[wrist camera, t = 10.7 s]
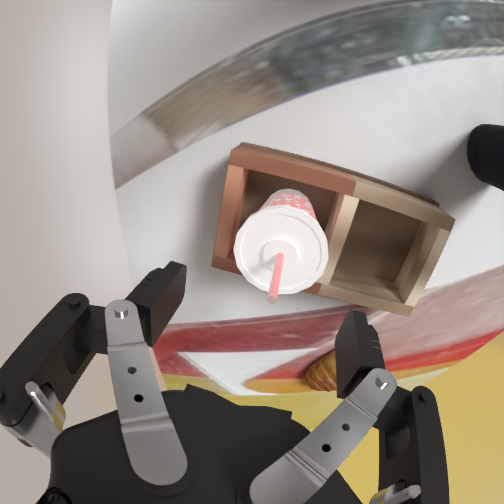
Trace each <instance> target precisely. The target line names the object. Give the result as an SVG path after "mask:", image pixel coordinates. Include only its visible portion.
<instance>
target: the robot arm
mask: <svg viewBox="0 0 504 504" xmlns="http://www.w3.org/2000/svg"><path fill="white" fill-rule="evenodd" d="M186 270H187V267H186V265H184V264H180V263H177V262H174V261H170V262H169V264H168V265H167V266H166V267H165V268H164V269H162V268H157V269H155V270H153V271H151V272H149V273H148V275H147V276H146V277H145V278H144V279H143V280H142V281H141V282H140V284H138V285H137V286H136V287H135V289H134V290H133V291H132V292H131V293H130V294H129V295H128V296H127V297H126V298H125V299H124V300H115V301H113V302H111V303H109V304H108V305H107V306H106V307H101V306H94V305H89V300H88V298H87V297H86V296H85V295H83V294H80V293H72V294H68V295H66V296H65V297H63V298H62V299H61V300H60V301H59V302H58V303H57V304H56V306H55V307H54V308H53V309H52V310H51V311H50V312H49V313H48V314H47V315H46V316H45V317H44V318H43V319H42V320H41V322H40V323H39V324H38V325H37V326H36V327H35V328H34V329H33V330H32V331H31V333H30V334H29V335H28V336H27V337H26V338H25V339H24V341H23V342H22V343H21V344H20V345H19V346H18V347H17V349H16V350H15V351H14V352H13V353H12V355H11V356H10V357H9V358H8V360H7V361H6V362H5V363H4V365H3V366H2V367H1V368H0V424H1V425H2V426H3V427H5V428H6V430H7V431H8V432H10V433H11V434H12V435H13V436H14V437H16V438H17V439H18V440H19V441H20V442H22V443H23V444H24V445H26V446H28V447H34V448H36V449H37V450H39V451H40V452H41V453H43V454H44V455H46V456H47V457H49V458H50V459H51V474H50V480H49V485H48V488H47V490H46V492H45V493H44V494H43V495H42V497H41V498H40V499H39V500H38V501H37V502H36V504H362V502H361V501H360V500H359V498H358V497H357V496H356V494H355V493H354V492H353V491H352V489H351V488H350V486H349V485H348V484H347V482H346V481H345V480H344V478H343V477H342V476H341V474H340V473H339V472H338V470H337V468H338V467H339V466H340V465H341V464H342V462H343V461H344V460H345V459H346V458H347V457H348V456H349V454H350V453H351V452H352V451H353V450H354V449H355V447H356V446H357V445H358V444H359V442H360V441H361V440H362V439H363V437H364V436H365V435H366V434H367V432H368V431H369V430H370V428H371V427H374V428H377V429H379V487H378V492H377V493H376V494H374V495H373V497H372V498H371V500H370V502H369V504H449V486H448V485H449V484H448V472H447V463H446V454H445V447H444V440H443V433H442V427H441V422H440V417H439V412H438V407H437V402H436V398H435V396H434V394H433V392H432V391H431V390H430V389H428V388H427V387H424V386H417V387H415V388H414V389H413V390H412V391H408V390H406V389H403V388H401V387H399V386H397V383H396V380H395V378H394V376H393V375H392V374H391V373H390V372H388V371H387V370H386V369H385V364H384V360H383V355H382V351H381V349H380V348H381V346H380V343H379V338H378V333H377V332H376V330H375V329H374V327H373V326H372V325H369V324H368V322H367V318H366V314H365V313H362V312H358V311H354V310H350V311H349V312H348V314H347V316H346V318H345V320H344V322H343V324H342V326H341V327H340V329H339V331H338V333H337V336H336V340H335V357H336V380H337V398H341V399H345V400H344V401H343V402H342V403H341V404H340V405H339V406H338V407H337V408H336V409H335V410H334V411H333V412H332V413H331V414H330V415H329V416H328V417H327V418H326V419H325V420H324V421H323V422H322V423H321V424H320V425H319V426H317V427H316V428H315V429H314V430H313V431H312V432H310V431H309V430H308V429H306V428H305V427H304V426H303V425H301V424H300V423H298V422H296V421H295V420H292V419H291V416H292V412H291V411H286V410H281V409H277V408H272V407H267V406H240V405H236V404H234V403H232V402H230V401H228V400H227V399H225V398H223V397H221V396H219V395H217V394H215V393H214V392H211V391H208V390H205V389H202V388H199V387H196V386H193V385H190V384H187V386H186V388H185V390H167V391H162V392H161V391H160V388H159V385H158V381H157V378H156V375H155V371H154V368H153V365H152V361H151V357H150V354H149V350H148V347H147V346H150V347H153V346H154V344H155V343H156V341H157V340H158V338H159V336H160V335H161V333H162V332H163V330H164V329H165V327H166V325H167V324H168V322H169V321H170V319H171V318H172V316H173V315H174V313H175V312H176V310H177V308H178V307H179V305H180V304H181V302H182V300H183V297H184V293H185V282H186ZM96 353H100V354H107V355H108V358H109V364H110V371H111V377H112V383H113V389H114V394H115V399H116V404H117V410H115V411H112V412H110V413H107V414H104V415H102V416H99V417H97V418H94V419H91V420H88V421H85V422H83V423H80V424H77V425H74V426H71V427H69V428H67V429H65V430H63V424H64V421H65V417H66V414H65V410H64V408H63V404H64V402H65V401H66V399H67V397H68V396H69V394H70V393H71V391H72V389H73V388H74V386H75V385H76V383H77V381H78V380H79V378H80V377H81V375H82V374H83V372H84V371H85V369H86V367H87V366H88V365H89V363H90V362H91V360H92V359H93V357H94V356H95V354H96ZM408 431H409V433H408Z"/></svg>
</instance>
